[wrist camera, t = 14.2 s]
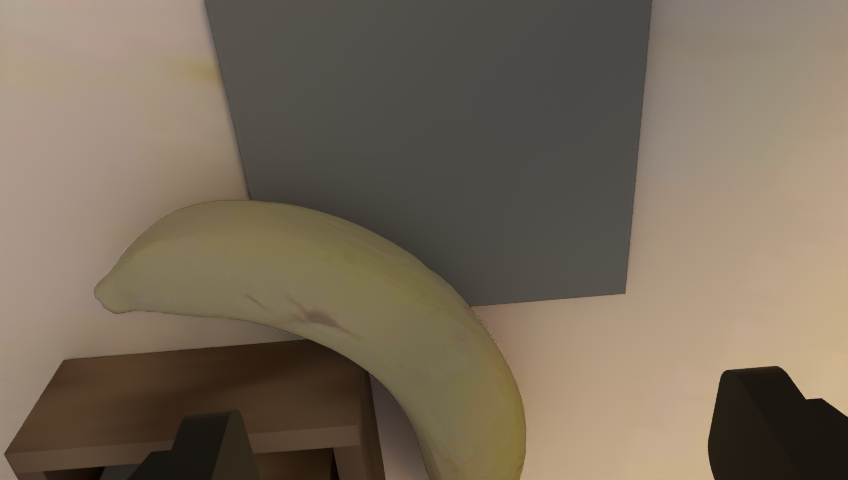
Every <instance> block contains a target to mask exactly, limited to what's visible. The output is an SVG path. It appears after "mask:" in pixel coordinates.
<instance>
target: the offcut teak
mask: <svg viewBox="0 0 848 480" xmlns="http://www.w3.org/2000/svg"><path fill="white" fill-rule="evenodd" d="M253 455H254V459H255V462H256V465H257V469H258V472H259V476H260V480H340V479H339V475H338V470H337V465H336V460H335V455H334V450H333V447H331V448H319V449H307V450H295V451H283V452H271V453H258V454H253Z"/></svg>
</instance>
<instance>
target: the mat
mask: <svg viewBox="0 0 848 480" xmlns="http://www.w3.org/2000/svg"><path fill="white" fill-rule="evenodd" d="M205 4H206V8H207V12H208V17H209V21H210V25H211V29H212V34H213V38H214V42H215V47H216V51H217V55H218V59H219V64H220V68H221V72H222V77H223V81H224V85H225V89H226V94H227V98H228V102H229V106H230V111H231V115H232V119H233V124H234V128H235V132H236V136H237V141H238V145H239V149H240V154H241V158H242V162H243V166H244V171H245V175H246V179H247V184H248V188H249V192H250V196H251V200H256V201H264V202H277V203H284V204H290V205H296V206H300V207H305V208H309V209H313V210H317V211H320V212H323V213H327V214H330V215H333V216H336V217H339V218H342V219H344V220H347V221H350V222H352V223H355V224H357V225H359V226H361V227H364V228H366V229H368V230H370V231H372V232H374V233H376V234H378V235H380V236H381V237H383V238H385V239H387V240H389V241H391V242H393V243H394V244H396V245H397V246H399V247H401V248H402V249H404V250H406V251H407V252H409V253H410V254H412V255H413V256H415V257H416V258H417V259H419V260H420V261H421V262H422V263H423V264H424V265H425V266H426V267H427V268H429V269H430V270H432V271H434V272H435V273H436V274H438V275H439V276H440V277H442V278H443V279H444V280H445V281H446V282H447V283H448V284H450V285H451V286H452V287H453V288H454V290H455V291H456V292H457V293H458V294H459V295H460V296H461V297H462V298H463V299H464V301H465V302H466V303H467V304H468V305H469V307H471V306H483V305H495V304H507V303H519V302H531V301H543V300H555V299H567V298H579V297H591V296H603V295H614V294H625V291H626V280H627V269H628V258H629V247H630V236H631V225H632V214H633V203H634V192H635V182H636V171H637V160H638V149H639V138H640V127H641V116H642V105H643V94H644V83H645V72H646V61H647V50H648V39H649V29H650V18H651V7H652V0H205Z"/></svg>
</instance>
